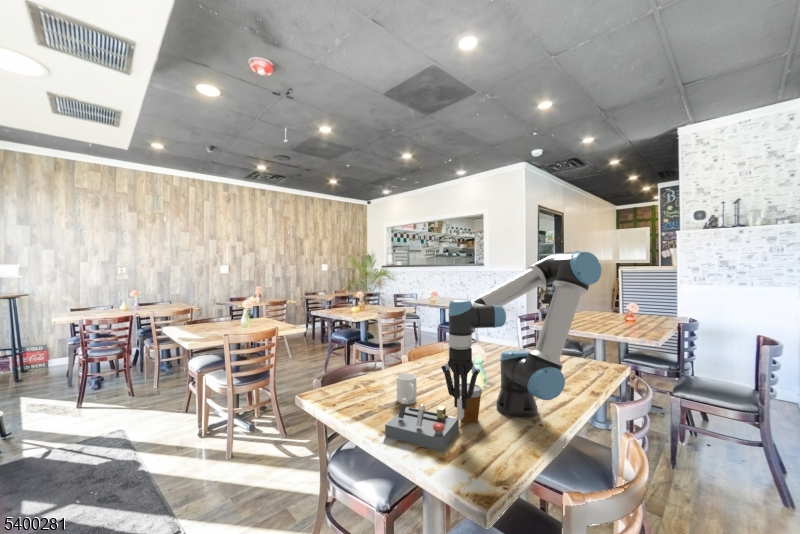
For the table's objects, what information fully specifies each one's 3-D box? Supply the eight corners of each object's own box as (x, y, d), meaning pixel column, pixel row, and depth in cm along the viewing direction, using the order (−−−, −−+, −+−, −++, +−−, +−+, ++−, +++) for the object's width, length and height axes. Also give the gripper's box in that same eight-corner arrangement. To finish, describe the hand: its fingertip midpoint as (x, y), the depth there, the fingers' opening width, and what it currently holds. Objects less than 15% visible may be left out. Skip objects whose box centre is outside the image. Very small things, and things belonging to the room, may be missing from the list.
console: (458, 429, 115) (458, 416, 115) (442, 452, 101) (442, 436, 101) (407, 417, 124) (407, 405, 124) (385, 436, 110) (385, 422, 110)
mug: (423, 406, 135) (423, 381, 135) (404, 409, 132) (404, 383, 132) (411, 396, 146) (411, 372, 146) (394, 398, 143) (393, 374, 143)
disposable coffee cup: (477, 428, 116) (477, 393, 116) (451, 421, 121) (451, 388, 121) (485, 418, 124) (485, 385, 124) (461, 412, 129) (461, 381, 129)
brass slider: (445, 417, 115) (445, 406, 115) (442, 420, 112) (442, 410, 112) (440, 415, 116) (440, 405, 116) (437, 419, 113) (437, 408, 113)
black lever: (404, 419, 114) (409, 399, 117) (402, 418, 112) (406, 398, 115) (399, 417, 115) (403, 398, 118) (396, 416, 113) (401, 396, 116)
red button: (446, 432, 105) (446, 424, 105) (442, 437, 102) (442, 429, 102) (435, 430, 106) (435, 421, 106) (431, 434, 103) (431, 426, 103)
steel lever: (423, 427, 108) (426, 405, 110) (420, 426, 106) (424, 405, 109) (417, 425, 109) (420, 404, 111) (414, 425, 107) (418, 403, 110)
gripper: (482, 346, 111) (483, 417, 111) (445, 342, 118) (446, 409, 117) (476, 351, 105) (477, 426, 105) (437, 346, 111) (438, 418, 111)
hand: (460, 417), depth 111 cm, fingers closed
